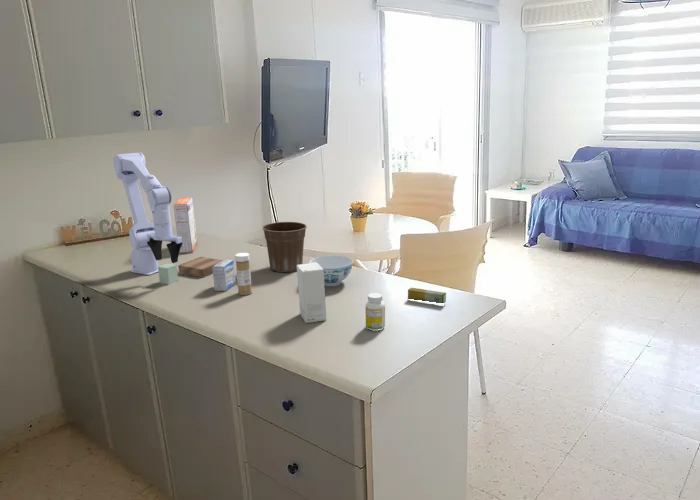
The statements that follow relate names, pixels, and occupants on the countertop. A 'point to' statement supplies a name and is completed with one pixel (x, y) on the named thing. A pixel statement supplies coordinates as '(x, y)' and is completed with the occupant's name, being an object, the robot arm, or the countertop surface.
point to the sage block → (168, 273)
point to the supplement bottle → (375, 312)
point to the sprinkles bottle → (243, 273)
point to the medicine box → (224, 275)
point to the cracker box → (185, 224)
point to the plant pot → (285, 245)
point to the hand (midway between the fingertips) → (166, 261)
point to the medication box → (426, 295)
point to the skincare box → (311, 292)
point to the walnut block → (198, 267)
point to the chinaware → (334, 268)
